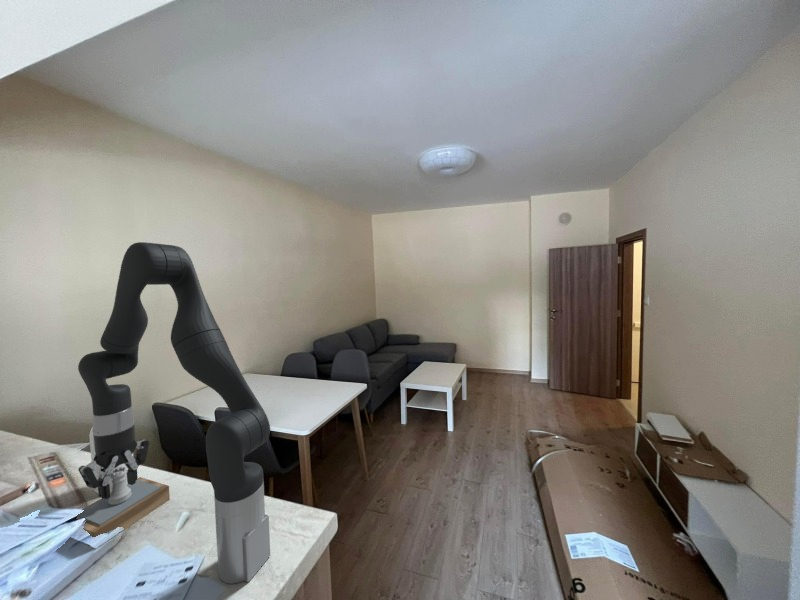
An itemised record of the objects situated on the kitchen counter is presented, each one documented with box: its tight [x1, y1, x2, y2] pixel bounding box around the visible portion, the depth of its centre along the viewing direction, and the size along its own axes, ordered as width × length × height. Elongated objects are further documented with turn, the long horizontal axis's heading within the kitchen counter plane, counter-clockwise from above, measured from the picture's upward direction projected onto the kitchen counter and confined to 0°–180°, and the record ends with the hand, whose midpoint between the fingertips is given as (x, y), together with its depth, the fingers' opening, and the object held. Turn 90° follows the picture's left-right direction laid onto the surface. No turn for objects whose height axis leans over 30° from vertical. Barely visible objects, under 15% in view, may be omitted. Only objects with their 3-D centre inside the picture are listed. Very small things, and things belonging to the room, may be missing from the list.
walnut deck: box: [76, 476, 171, 537], centre depth 76 cm, size 12×16×4 cm
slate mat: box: [77, 480, 161, 526], centre depth 76 cm, size 10×13×1 cm
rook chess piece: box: [108, 467, 132, 505], centre depth 76 cm, size 4×4×8 cm
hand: (119, 490), depth 76 cm, fingers open, 4 cm apart
